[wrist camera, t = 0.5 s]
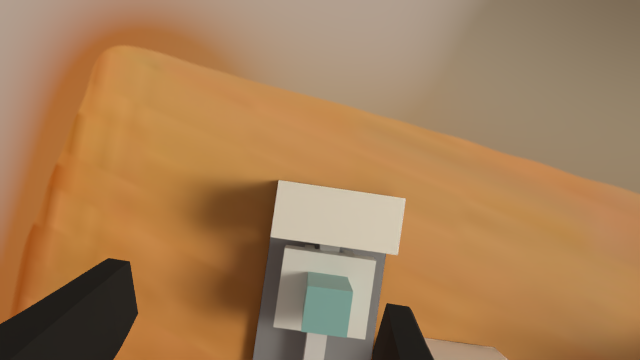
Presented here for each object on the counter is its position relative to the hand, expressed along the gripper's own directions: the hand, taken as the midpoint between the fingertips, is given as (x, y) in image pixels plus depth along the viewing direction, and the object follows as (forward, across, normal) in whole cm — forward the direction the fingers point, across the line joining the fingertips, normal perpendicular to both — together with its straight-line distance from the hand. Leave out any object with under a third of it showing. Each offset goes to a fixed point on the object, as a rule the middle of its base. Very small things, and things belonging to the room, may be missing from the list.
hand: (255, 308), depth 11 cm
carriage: (+16, -2, +14) cm, 22 cm away
